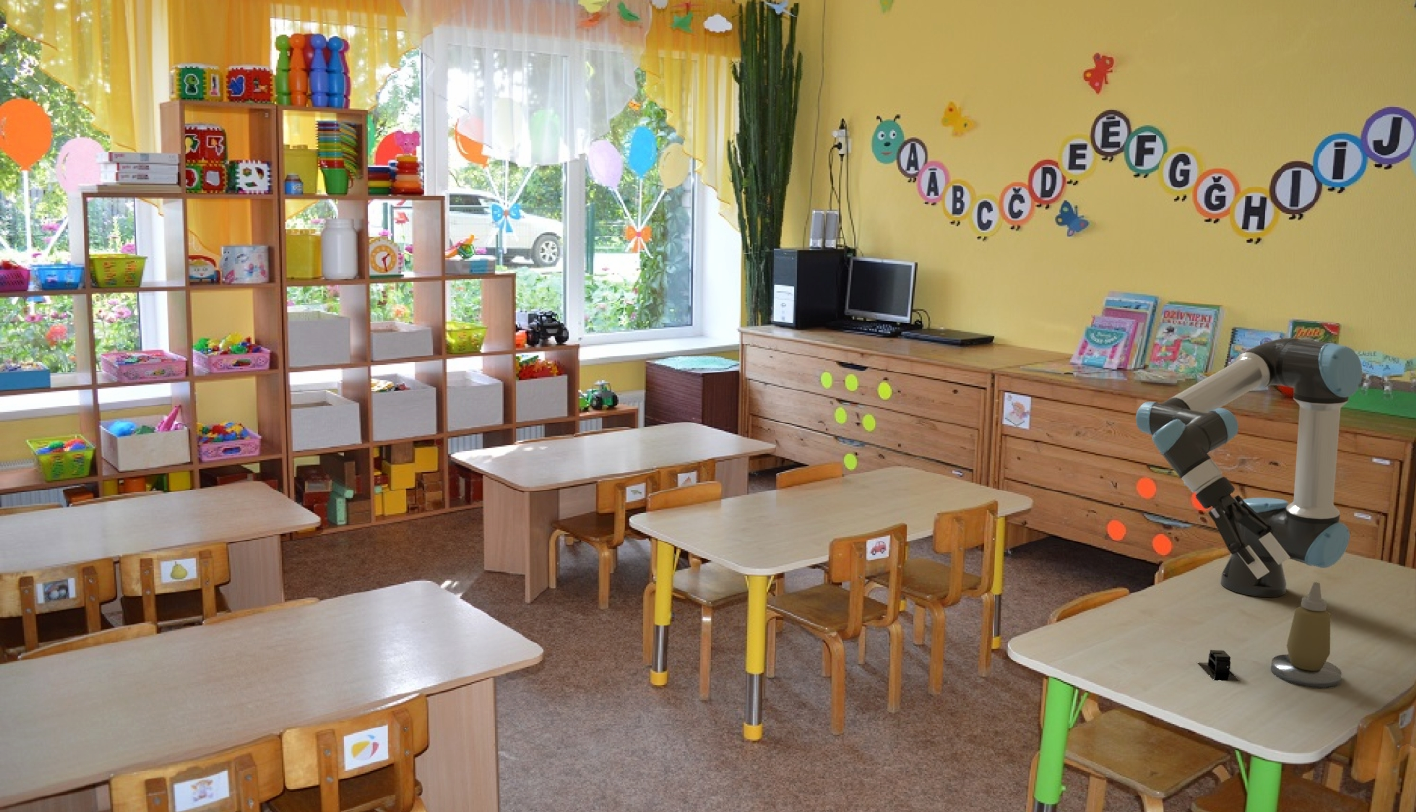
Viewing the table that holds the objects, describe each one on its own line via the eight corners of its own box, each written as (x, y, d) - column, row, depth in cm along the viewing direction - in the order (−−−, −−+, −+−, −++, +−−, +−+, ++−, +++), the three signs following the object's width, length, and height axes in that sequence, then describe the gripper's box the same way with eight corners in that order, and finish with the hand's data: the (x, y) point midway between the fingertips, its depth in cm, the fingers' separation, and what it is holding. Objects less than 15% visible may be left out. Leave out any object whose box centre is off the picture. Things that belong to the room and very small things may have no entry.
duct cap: (1289, 658, 260) (1291, 649, 259) (1351, 679, 250) (1353, 670, 249) (1258, 672, 252) (1260, 662, 251) (1321, 693, 242) (1322, 684, 241)
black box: (1190, 661, 258) (1192, 641, 257) (1224, 663, 257) (1226, 643, 257) (1212, 685, 245) (1214, 664, 245) (1248, 687, 245) (1250, 665, 244)
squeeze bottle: (1318, 660, 254) (1329, 578, 251) (1334, 675, 246) (1345, 590, 243) (1278, 657, 255) (1288, 575, 252) (1292, 672, 247) (1303, 588, 244)
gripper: (1215, 484, 270) (1278, 564, 264) (1173, 505, 252) (1239, 591, 245) (1242, 465, 266) (1307, 546, 259) (1201, 485, 248) (1269, 572, 241)
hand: (1274, 568), depth 252 cm, fingers open, 13 cm apart
